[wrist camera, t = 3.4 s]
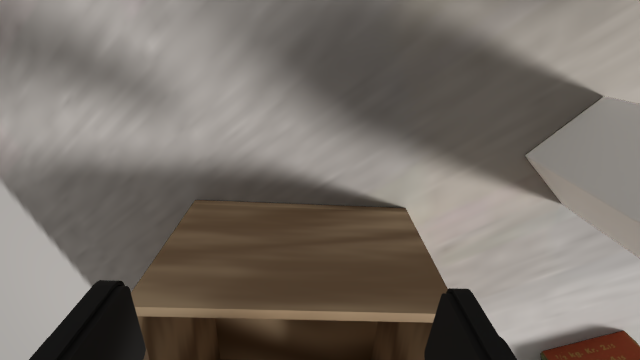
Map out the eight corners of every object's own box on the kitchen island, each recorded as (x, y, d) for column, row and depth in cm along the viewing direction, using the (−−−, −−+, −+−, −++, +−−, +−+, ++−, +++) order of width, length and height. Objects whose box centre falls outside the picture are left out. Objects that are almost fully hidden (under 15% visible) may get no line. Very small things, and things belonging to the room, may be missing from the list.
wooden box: (195, 199, 23) (121, 306, 14) (405, 208, 24) (461, 314, 15) (216, 356, 31) (177, 489, 22) (374, 359, 32) (399, 489, 23)
